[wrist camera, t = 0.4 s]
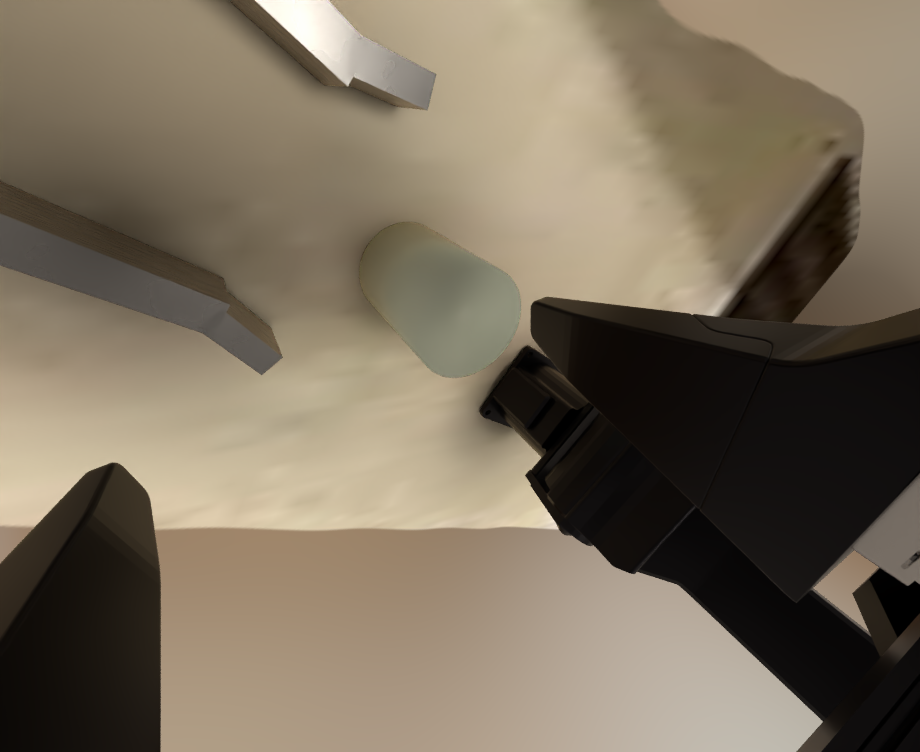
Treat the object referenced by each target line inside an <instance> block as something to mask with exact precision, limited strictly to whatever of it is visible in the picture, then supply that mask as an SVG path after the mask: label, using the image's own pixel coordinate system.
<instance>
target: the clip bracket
mask: <svg viewBox="0 0 920 752" xmlns="http://www.w3.org/2000/svg"><path fill="white" fill-rule="evenodd" d="M229 1H230V2H231V3H233V4H234V5H235V6H236V7H237V8H238V9H239V10H240V11H242V12H243V13H244V14H245V15H246V16H247V17H248V18H249V19H251V20H252V21H253V22H254V23H255V24H256V25H257V26H258V27H260V28H261V29H262V30H263V31H264V32H265V33H266V34H267V35H268V36H270V37H271V38H272V39H273V40H274V41H275V42H276V43H277V44H279V45H280V46H281V47H282V48H283V49H284V50H285V51H286V52H288V53H289V54H290V55H291V56H292V57H293V58H294V59H295V60H297V61H298V62H299V63H300V64H301V65H302V66H303V67H304V68H306V69H307V70H308V71H309V72H310V73H311V74H312V75H313V76H314V77H316V78H317V79H318V80H319V81H320V82H321V83H322V84H323V85H325V86H346V87H348V85H349V86H351V87H353V88H356V89H358V90H360V91H363V92H365V93H367V94H369V95H372V96H374V97H376V98H379V99H381V100H383V101H385V102H388V103H390V104H392V105H395V106H397V107H404V108H412V109H420V110H428V107H429V102H430V98H431V94H432V90H433V85H434V81H435V77H436V74H435V73H433V72H431V71H429V70H427V69H425V68H423V67H421V66H419V65H418V64H416V63H414V62H412V61H410V60H408V59H406V58H404V57H402V56H400V55H398V54H396V53H395V52H393V51H391V50H389V49H387V48H385V47H383V46H381V45H379V44H377V43H375V42H373V41H371V40H370V39H368V38H366V37H364V36H362V35H361V34H360V33H359V32H358V31H357V30H356V29H355V28H354V27H353V26H352V25H351V24H350V23H349V22H348V21H347V20H346V19H345V17H344V16H343V15H342V14H341V13H340V12H339V11H338V10H337V9H336V8H335V7H334V6H333V5H332V4H331V3H330V2H329V0H229ZM0 265H1V266H4V267H7V268H10V269H13V270H16V271H19V272H22V273H25V274H28V275H31V276H34V277H37V278H40V279H43V280H46V281H49V282H52V283H55V284H58V285H61V286H64V287H67V288H70V289H73V290H76V291H79V292H82V293H85V294H88V295H90V296H93V297H96V298H99V299H102V300H105V301H108V302H111V303H114V304H117V305H120V306H123V307H126V308H129V309H132V310H135V311H138V312H141V313H144V314H147V315H150V316H153V317H156V318H159V319H162V320H165V321H168V322H171V323H174V324H177V325H180V326H183V327H186V328H189V329H192V330H195V331H198V332H201V333H203V334H205V335H206V336H207V337H209V338H210V339H212V340H213V341H214V342H216V343H217V344H219V345H220V346H221V347H223V348H224V349H226V350H227V351H228V352H230V353H231V354H233V355H234V356H236V357H237V358H238V359H240V360H241V361H243V362H244V363H245V364H247V365H248V366H250V367H251V368H252V369H254V370H255V371H257V372H258V373H259V374H261V375H262V374H264V373H265V372H266V371H267V370H268V369H270V368H271V367H272V366H273V365H274V364H275V363H277V362H278V361H279V360H280V359H281V358H283V357H282V354H281V352H280V349H279V347H278V344H277V342H276V339H275V337H274V334H273V332H272V329H271V328H270V327H269V326H268V325H267V324H265V323H264V322H263V321H262V320H261V319H259V318H258V317H257V316H256V315H255V314H253V313H252V312H251V311H250V310H249V309H247V308H246V307H245V306H244V305H243V304H241V303H240V302H239V301H238V300H237V299H236V298H234V297H233V296H232V295H231V294H230V293H228V292H227V291H226V287H225V283H224V280H223V278H222V277H219V276H217V275H215V274H212V273H210V272H208V271H206V270H203V269H201V268H199V267H196V266H194V265H192V264H189V263H187V262H185V261H183V260H180V259H178V258H176V257H173V256H171V255H169V254H166V253H164V252H162V251H160V250H157V249H155V248H153V247H150V246H148V245H146V244H143V243H141V242H139V241H137V240H134V239H132V238H130V237H127V236H125V235H123V234H120V233H118V232H116V231H114V230H111V229H109V228H107V227H104V226H102V225H100V224H97V223H95V222H93V221H91V220H88V219H86V218H84V217H81V216H79V215H77V214H74V213H72V212H70V211H68V210H65V209H63V208H61V207H58V206H56V205H54V204H51V203H49V202H47V201H44V200H42V199H40V198H38V197H35V196H33V195H31V194H28V193H26V192H24V191H21V190H19V189H17V188H15V187H12V186H10V185H8V184H5V183H3V182H1V181H0Z"/></svg>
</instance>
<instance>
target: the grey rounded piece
mask: <svg viewBox="0 0 920 752" xmlns="http://www.w3.org/2000/svg"><path fill="white" fill-rule="evenodd" d="M359 279H360V285H361V288H362V291H363V293H364V295H365V297H366V298H367V300H368V301H369V302H370V303H371V304H372V305H373V307H374V308H375V309H376V310H377V311H378V312H379V313H380V314H381V316H382V317H383V318H384V319H385V320H386V321H387V322H388V323H389V325H390V326H391V327H392V328H393V329H394V330H395V331H396V332H397V334H398V335H399V336H400V337H401V338H402V339H403V340H404V341H405V343H406V344H407V345H408V346H409V347H410V348H411V349H412V350H413V352H414V353H415V354H416V355H417V356H418V357H419V358H420V359H421V361H422V362H423V363H424V364H425V365H426V366H427V367H428V368H429V369H430V370H431V371H433V372H434V373H436V374H438V375H440V376H443V377H449V378H459V377H465V376H469V375H472V374H474V373H477V372H479V371H481V370H482V369H484V368H486V367H487V366H488V365H490V364H491V363H492V362H494V361H495V360H496V359H497V358H498V357H499V356H500V355H501V354H502V353H503V351H504V350H505V349H506V348H507V346H508V345H509V343H510V341H511V340H512V338H513V336H514V334H515V332H516V329H517V326H518V323H519V319H520V314H521V299H520V294H519V290H518V288H517V286H516V284H515V282H514V281H513V279H512V278H511V277H510V276H509V275H508V274H507V273H505V272H504V271H502V270H500V269H499V268H497V267H495V266H493V265H492V264H490V263H488V262H487V261H485V260H483V259H481V258H480V257H478V256H476V255H474V254H473V253H471V252H469V251H468V250H466V249H464V248H462V247H461V246H459V245H457V244H455V243H454V242H452V241H450V240H449V239H447V238H445V237H443V236H442V235H440V234H438V233H436V232H435V231H433V230H431V229H430V228H428V227H426V226H424V225H422V224H418V223H413V222H402V223H397V224H394V225H391V226H389V227H387V228H385V229H384V230H382V231H380V232H379V233H378V234H377V235H376V236H375V237H374V238H373V239H372V240H371V241H370V243H369V244H368V246H367V247H366V249H365V251H364V253H363V256H362V259H361V262H360V269H359Z"/></svg>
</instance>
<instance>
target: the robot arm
mask: <svg viewBox="0 0 920 752" xmlns="http://www.w3.org/2000/svg"><path fill="white" fill-rule="evenodd" d="M531 335H532V337H533V339H534V341H535V342H536V343H537V344H538V345H539V347H540V348H541V349H542V350H543V352H544V353H545V354H546V355H547V356H548V358H547V357H546V356H544V355H543V354H541V353H540V352H538V351H537V350H535V349H533V348H532V347H530V346H528V347H526V348H525V349H524V350H523V351H522V352H521V354H520V355H519V356H518V358H517V359H516V361H515V362H514V363H513V365H512V366H511V367H510V369H509V370H508V372H507V373H506V374H505V376H504V377H503V379H502V380H501V381H500V383H499V384H498V385H497V387H496V388H495V390H494V391H493V392H492V394H491V395H490V397H489V398H488V399H487V401H486V402H485V403H484V405H483V406H482V408H481V409H480V414H481V415H482V416H483V417H484V418H487V419H490V420H492V421H495V422H498V423H501V424H503V425H506V426H509V427H512V428H513V429H514V430H515V431H516V432H517V433H518V434H519V435H520V436H521V437H522V438H523V439H524V440H525V441H526V442H527V443H528V444H529V445H530V446H531V447H532V448H533V449H534V450H535V451H536V452H537V453H538V454H539V455H540V456H541V457H542V458H541V459H540V460H539V461H538V463H537V464H536V465H535V466H534V467H533V469H532V470H529V471H528V473H527V474H526V475H525V476H526V477H527V479H528V480H529V482H530V483H531V487H532V488H533V490H534V491H535V493H536V494H537V496H538V497H539V499H540V500H541V502H542V503H543V505H544V506H545V508H546V509H547V510H548V512H549V513H550V515H551V516H552V518H553V519H554V521H555V522H556V524H557V526H558V528H559V530H560V531H561V532H562V533H563V534H564V535H570V536H571V535H572V536H573V537H575V538H576V539H577V540H579V541H580V542H582V543H584V544H586V545H588V546H592V545H594V546H595V547H596V548H597V549H598V550H599V551H600V552H601V554H602V555H603V556H604V557H605V558H606V559H607V560H608V561H609V562H610V564H611V565H613V566H614V567H616V568H618V569H621V570H623V571H626V572H628V573H631V574H635V573H636V572H640V573H643V574H646V575H649V576H653V577H656V578H659V579H662V580H665V581H668V582H671V583H674V584H677V585H679V586H680V587H681V588H682V589H683V590H685V591H686V592H687V593H688V594H689V595H690V596H691V597H692V598H693V599H694V600H695V601H696V602H698V603H699V604H700V605H701V606H702V607H703V608H704V609H705V610H706V611H707V612H708V613H709V614H710V615H711V616H712V617H713V618H714V619H715V620H716V621H718V622H719V623H720V624H721V625H722V626H723V627H724V628H725V629H726V630H727V631H728V632H729V633H730V634H731V635H732V636H734V637H735V638H736V639H737V640H738V641H739V642H740V643H741V644H742V645H743V646H744V647H745V648H746V649H747V650H748V651H749V652H750V653H752V655H753V656H755V657H756V658H757V659H758V660H759V661H760V662H761V663H762V664H763V665H764V666H765V667H766V668H767V669H768V670H769V671H770V672H772V673H773V674H774V675H775V676H776V677H777V678H778V679H779V680H780V681H781V682H782V683H783V684H784V685H785V686H786V687H787V688H788V689H790V690H791V691H792V692H793V693H794V694H795V695H796V696H797V697H798V698H799V699H800V700H801V701H802V702H803V703H804V704H805V705H806V706H807V707H808V708H809V709H811V710H812V711H813V712H814V713H815V714H816V715H817V716H818V717H819V718H820V719H821V720H822V721H823V723H822V724H821V725H820V726H819V727H818V728H817V729H816V730H815V732H814V733H813V734H812V735H811V736H810V737H809V738H808V739H807V741H806V742H805V743H804V744H803V745H802V746H801V747H800V748H799V750H798V751H797V752H920V308H919V309H915V310H912V311H909V312H906V313H902V314H899V315H896V316H893V317H889V318H886V319H883V320H879V321H875V322H871V323H866V324H859V325H852V326H824V325H810V324H797V323H783V322H769V321H757V320H745V319H734V318H724V317H715V316H706V315H698V314H693V315H691V314H689V313H680V312H672V311H663V310H655V309H646V308H638V307H629V306H621V305H612V304H604V303H595V302H587V301H579V300H570V299H562V298H553V297H544V298H542V299H539V300H537V301H534V302H533V303H532V305H531ZM854 550H855V551H856V552H858V553H859V554H861V555H862V556H864V557H865V558H866V559H868V560H869V561H871V562H872V563H874V564H875V565H877V566H878V567H879V568H878V569H877V570H876V571H875V572H874V573H873V574H872V575H871V576H870V577H869V578H868V579H867V580H866V581H865V582H864V583H863V584H862V585H861V586H860V587H859V588H857V589H856V590H855V592H853V596H854V598H855V600H856V602H857V605H858V607H859V609H860V612H861V614H862V616H863V619H864V621H865V623H866V625H867V628H868V630H869V632H870V633H869V632H868V631H867V630H865V629H864V628H863V627H862V626H860V625H859V624H858V623H857V622H855V621H854V620H853V619H851V618H850V617H849V616H848V615H846V614H845V613H844V612H843V611H841V610H840V609H839V608H838V607H836V606H835V605H834V604H832V603H831V602H830V601H829V600H827V599H826V598H825V597H824V596H822V595H821V594H820V593H818V592H817V591H816V590H814V589H813V587H815V586H816V585H817V584H818V583H819V582H820V581H821V580H822V579H823V578H824V577H825V576H827V575H828V574H829V573H830V572H831V571H832V570H833V569H834V568H835V567H836V566H837V565H838V564H839V563H841V562H842V561H843V560H844V559H845V558H846V557H847V556H848V555H849V554H850V553H851V552H853V551H854ZM160 666H161V580H160V565H159V557H158V550H157V543H156V537H155V530H154V523H153V516H152V509H151V502H150V498H149V495H148V493H147V492H146V490H145V489H144V488H143V487H142V486H141V485H140V483H139V482H138V481H137V480H136V479H135V478H134V477H133V476H132V475H131V474H130V473H129V472H128V471H127V470H126V469H125V468H124V467H123V466H122V465H120V464H118V463H110V464H107V465H104V466H102V467H99V468H96V469H94V470H91V471H89V472H87V473H86V474H85V475H84V476H83V477H82V478H81V479H80V480H79V481H78V482H77V483H76V484H75V485H74V486H73V488H72V489H71V490H70V491H69V492H68V493H67V494H66V495H65V496H64V497H63V498H62V499H61V500H60V501H59V502H58V503H57V504H56V505H55V506H54V508H53V509H52V510H51V511H50V512H49V513H48V514H47V515H46V516H45V517H44V518H43V519H42V520H41V521H40V522H39V523H38V524H37V525H36V526H35V527H34V529H33V530H32V531H31V532H30V533H29V534H28V535H27V536H26V537H25V538H24V539H23V540H22V542H20V543H19V544H18V545H17V547H16V548H15V549H14V550H13V551H12V552H11V553H10V554H9V555H8V556H7V557H6V558H5V559H4V560H3V561H2V562H1V563H0V752H160V727H161V726H160V721H161V718H160V716H161V715H160V714H161V708H160V707H161V706H160V705H161V703H160V702H161V699H160V698H161V693H160V692H161V691H160V689H161V688H160V687H161V683H160V680H161V675H160V674H161V672H160V671H161V667H160Z"/></svg>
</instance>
